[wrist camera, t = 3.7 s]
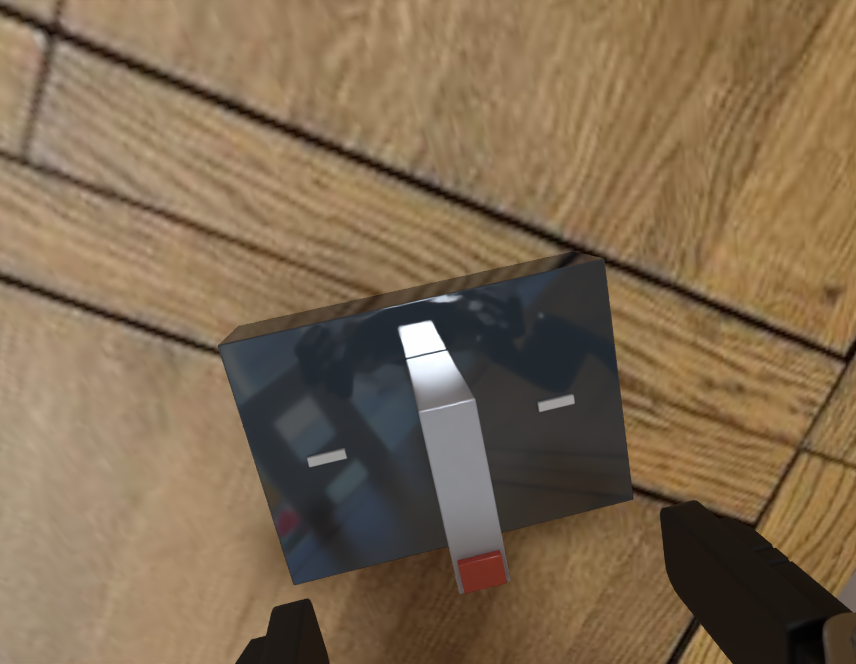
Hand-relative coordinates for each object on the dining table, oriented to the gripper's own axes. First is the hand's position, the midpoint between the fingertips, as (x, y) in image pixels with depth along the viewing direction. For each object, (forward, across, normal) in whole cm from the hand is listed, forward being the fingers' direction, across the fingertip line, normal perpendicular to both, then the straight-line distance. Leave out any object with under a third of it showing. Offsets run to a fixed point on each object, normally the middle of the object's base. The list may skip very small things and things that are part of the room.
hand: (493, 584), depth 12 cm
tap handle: (+8, 0, 0) cm, 8 cm away
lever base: (+12, 0, 0) cm, 12 cm away
